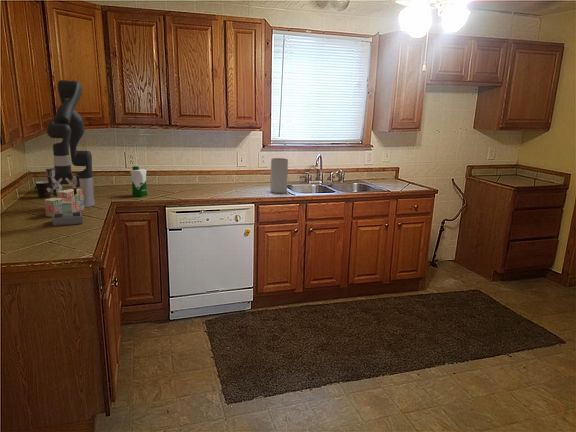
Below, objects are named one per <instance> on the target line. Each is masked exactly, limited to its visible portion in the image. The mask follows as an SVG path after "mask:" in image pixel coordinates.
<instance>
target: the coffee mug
mask: <svg viewBox="0 0 576 432" xmlns="http://www.w3.org/2000/svg"><path fill="white" fill-rule="evenodd" d="M34 191H35V192H36V193H37V195H38V198H39V199H50V198H51V192H50V188H49V186H48V181H47V180H43V181H42V180H40V181H36V182H35V186H34ZM49 197H50V198H49Z"/></svg>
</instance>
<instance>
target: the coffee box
mask: <svg viewBox="0 0 576 432" xmlns="http://www.w3.org/2000/svg"><path fill="white" fill-rule="evenodd" d="M48 176H55V169H54V167H53V168H49V167H48V168H45V179H46V181H48ZM56 182H57V181H56V180H55V179H53V180H52V181H51V186H54V185H55V183H56ZM56 191H57V194H58V192H59V191H63V184H59V185H58V186H57V187H56ZM50 194H53V189H51V188H50Z"/></svg>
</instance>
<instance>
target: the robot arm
mask: <svg viewBox="0 0 576 432" xmlns="http://www.w3.org/2000/svg"><path fill="white" fill-rule="evenodd" d="M57 92H58V93H57V94H58V97H59V100H60V103H61V104H60V105H59V106H58V107H57V108H56V112H55V115H54V118H53V119H52V120H51V121H49V123H48V125H47V127H46V133H47V136H48V137H49V138H51V139H61V140H62V141H61V142H56V143H54V144H53V145H52V153H53V168H54V169H55V176H48V186H49V188H51V189H53V193H52V194H53V196H54V198H56V197H58V193H57V191H56V187H57V186H58V185H59V184H62V185H68V184H70V186H71V187H72V189H74V195H75V194H77V189H83V195H84V208H87V207H88V208H90V207H94V206H95V191H94V189H95V188H94V179H93V178H94V177H93V165H92V164H93V158H92V157H93V156H92V152H91V151H90V150H78V148H77V147H78V144H79V143H80V140H81V139H82V137H83V136H84V133H85V125H84V120H83V118H82V117H81V115H80V114H79V113H78V112H77V109H75V108H76V107H77V105H78V103H79V101H80V99H81V97H82V95H83V94H82V93H83V88H82V84H81V83H80V81H77V80H69V79H68V80H66V79H60V80H59V81H57ZM72 165H73V166H74V167H85V168H84V169H83V170H81V171H80V170H79V171H78V172H75V175H73V173H72ZM53 179H55V180H56V181H57V182H56V183H55V185H54V186H51V181H52V180H53ZM73 179H74V180H75V183H74V182H73V181H72V180H73Z"/></svg>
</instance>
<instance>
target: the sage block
mask: <svg viewBox="0 0 576 432" xmlns="http://www.w3.org/2000/svg"><path fill="white" fill-rule="evenodd" d="M62 215H63V217H73V213H72V202H62Z"/></svg>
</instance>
